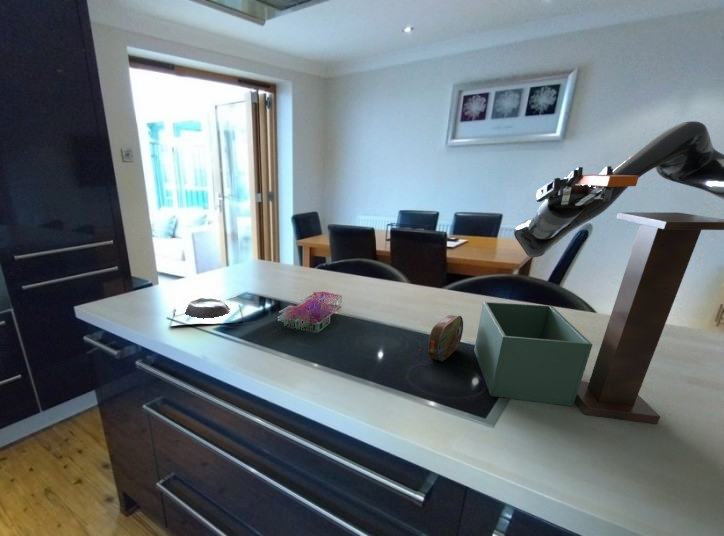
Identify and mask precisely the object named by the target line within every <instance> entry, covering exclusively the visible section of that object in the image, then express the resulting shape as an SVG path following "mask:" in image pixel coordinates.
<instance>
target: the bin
mask: <svg viewBox="0 0 724 536" xmlns="http://www.w3.org/2000/svg"><path fill="white" fill-rule="evenodd" d="M593 346H594V345H593V343H592V342H590V341H589V339H587V338H586V337H585V335H583V333H581V332H580V331H579V330H578V329H577V328H576V327H575V326H574V325H573V324H572V323H571V322H569V320H567V319H566V317H564V316H563V314H561V313H560V312H559V311H558V310H557V309H556V308H555V307H554V306H553V305H542V304H528V303H526V304H525V303H513V302H512V303H510V302H493V301H483V302H482V305H481V311H480V318H479V322H478V328H477V333H476V338H475V344H474V349H473V350H474V354H475V357H476V360H477V363H478V365H479V369H480V372H481V374H482V377H483V380H484V382H485V385H486V388H487V391H488V393H489V396H490V397H494V398H495V397H496V398H503V397H506V398H505V399H511V400H518V401H519V400H521V401H527V402H535V403H543V404H551V405H558V406H559V405H560V406H568V407H574V405H575V399H576V396H577V393H578V389H579V386H580V383H581V381H583V380H582V379H583V376H584V374H585V371H586V367H587V363H588V360H589V358H590V354H591V351H592V348H593Z"/></svg>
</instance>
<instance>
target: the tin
mask: <svg viewBox="0 0 724 536" xmlns="http://www.w3.org/2000/svg"><path fill="white" fill-rule="evenodd" d="M463 333H464V319H463V317H462V316H461V315H453V314H449V315H446V316H445V317H444V318H443V319H441V320H440V321H438V322H437V323H436V324H434V326H433V327H432V329H431V331H430V333H429V338H428V351H427V354H428V358H430V359H432V360H435V361H439V362H445V361H446V360H447V359H448V358H449V357H450V356H451V355H452V354H453V353H454V352H456V350H458V348H459V347H460V343H461V341H462V337H463Z"/></svg>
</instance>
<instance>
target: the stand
mask: <svg viewBox="0 0 724 536" xmlns="http://www.w3.org/2000/svg"><path fill="white" fill-rule="evenodd" d="M615 219H616V220H620V221H624V222H629V223H634V224H637V225H639V226H638V229H637V233H636V236H635V239H634V243H633V246H632V247H631V252H630V255H629V258H628V261H627V264H626V267H625V270H624V273H623V276H622V279H621V282H620V285H619V288H618V292H617V294H616V298H615V301H614V304H613V306H612V307H613V308H612V310H611V314H610V316H609V319H608V322H607V326H606V329H605V332H604V335H603V338H602V341H601V345H600V348H599V350H598V353H597V356H596V360H595V363H594V366H593V369H592V372H591V375H590V378H589V381H583V380H581V383H580V386H579V389H578V393H577V396H576V399H575V401H574V403H576V405H577V407H579V409H580V410H581V412H582V413H583V415H586V416H592V417H600V418H608V419H616V420H621V421H622V420H623V421H630V422H639V423H647V424H653V425H658V423H659V421H660V419H661V415H660V414H659V413H658V412H657V411H655V410H654V409H653V408H652V406H650V405H649V404H648V403H647V402H646V401H645V399H643V398H642V396H640V395H639V393H640V392H641V388H642V386H643V383H644V381H645V378H646V376H647V373H648V370H649V368H650V365H651V362H652V359H653V357H654V354H655V351H656V349H657V347H658V344H659V342H660V339H661V336H662V334H663V332H664V329H665V326H666V323H667V321H668V318H669V316H670V313H671V310H672V307H673V305H674V302H675V300H676V298H677V294H678V292H679V290H680V287H681V284H682V282H683V279H684V277H685V274H686V271H687V269H688V266H689V263H690V261H691V259H692V256H693V254H694V251H695V248H696V245H697V242H698V240H699V238H700V235H701V232H702V231H724V218H719V217H713V216H711V217H710V216H704V215H698V214H691V213H685V212H665V211H664V212H659V211H658V212H654V211H653V212H649V211H648V212H647V211H646V212H643V211H642V212H629V211H627V212H626V211H625V212H617V213H616V218H615Z"/></svg>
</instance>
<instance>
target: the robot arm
mask: <svg viewBox="0 0 724 536" xmlns="http://www.w3.org/2000/svg"><path fill="white" fill-rule="evenodd" d="M612 167H613V166H612V165H607V166H605V167H604V168H603V169H602V170H601V171H600V172H599V173H598V175H630V176H639V178H641V177H642V176H644V175H645V174H646V173H648V172H649V171H651V170H654V169H655V171H656V172H657V174H658V175H659V176H660V177H661V178H663V179H665V180H668V181H670V182H674V183H678V184H680V185H684V186H687V187H691V188H695V189H698V190H701V191H704V192H707V193H709V194H711V195H713V196H716V197H717V198H720V199H722V200H724V153H722V152H719V151H718V150H716V149H715V147H714V146H713V143H712V139H711V136H710V132H709V130H708V128H707V126H706V125H705V124H704V123H703V122H700V121H696V120H694V121H693V120H689V121H685V122H681V123H678V124H675V125H673V126H670V127H669V128H667V129H666V130H664V131H662V132H660V133H659V134H658V135H656V136H655V137H653V138H652V139H651V140H650V141H649V142H646V144H645V145H643V146H642V147H641V148H639V149H638V150H637V151H636V152H635V153H633V154H632V155H631V156H630V157H628V158H627V159H625V160H624V161H623V162H622V163H621V164H619V165H618V166H617V167H615V168H612ZM583 172H584V167H583V166H578V167H577V168H576V169H573V170H572V171H571V172H570V173H569V174H568V176H565V177H564V178H563V179H562V178H560V177H556V178H553V179H552V180H551V181H548V183H546V184H544V185H543V186H541V187H540V188H539V189H537V191H536V202H537V203H541V202H542V204H541V205H540V206H539V207H538V209H537V210H536V212H535V214H534V215H533V216H532V217H530V218H528V219H525V220H524V221H522V222H520V223H518V225H517V226H516V227H515V228H514V231H513V236H514V238H515V240H516V241H517V242H518V244H519V245H520V247H521V248H522V250H523V251H524V253H525V254H526V256H528V257H530V258H539V257H541V256H544V255H545V254H547V253H548V252H549V251H550V250H551V249H553V247H555V246H556V245H557V244H558V243H559V242H560V241H561V240H563V239H564V238H565V237H566V236H567V235H569V234H570V233H571V232H573V231H574V230H576V229H578V228H579V227H580V226H582V225H585V224H586V223H588V222H590V221H591V220H593V219H595V218H597V217H598V216H600V215H601V214H603V213H605V211H606V210H607V209H608V208H610V207H611V206H612V205H613V204H614V203H615V202H616V201H617V200H618V198H619V197H620V196H622V194H623V193H624V192H625V191H626V190H627V189H628V188H629V187H630V186H619V187H605V186H594V185H582V184H576V183H577V182H578V181H579V180H580V179H581V177H582V175H583V174H584V173H583Z"/></svg>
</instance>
